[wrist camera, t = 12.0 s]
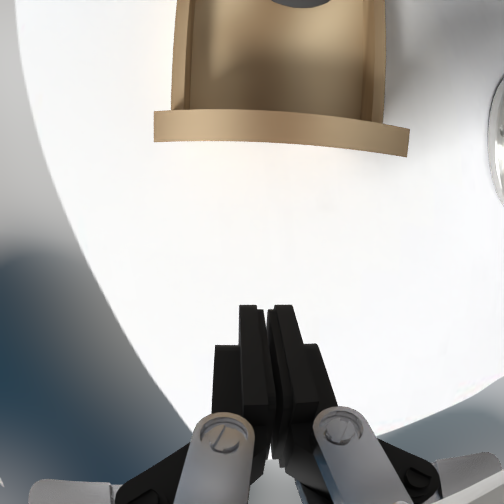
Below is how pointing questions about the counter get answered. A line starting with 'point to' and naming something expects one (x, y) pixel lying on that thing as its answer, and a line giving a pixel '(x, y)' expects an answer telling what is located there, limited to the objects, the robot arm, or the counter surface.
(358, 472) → the robot arm
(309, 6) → the sundae
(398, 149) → the tray
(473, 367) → the counter surface
